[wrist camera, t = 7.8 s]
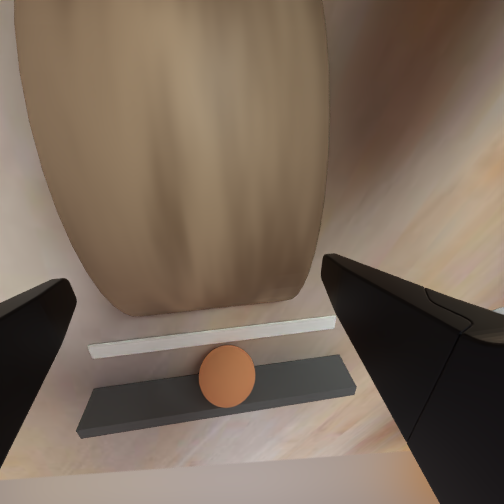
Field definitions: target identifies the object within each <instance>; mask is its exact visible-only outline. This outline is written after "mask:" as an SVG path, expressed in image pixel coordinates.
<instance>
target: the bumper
mask: <svg viewBox="0 0 504 504" xmlns="http://www.w3.org/2000/svg"><path fill="white" fill-rule="evenodd" d="M254 368H255V383H254V386H253V389H252V391H251V393H250V394H249V396H248V397H247V398H246V399H245V400H244V401H243V402H242V403H240V404H238V405H236V406H234V407H229V408H223V407H218V406H216V405H214V404H212V403H211V402H209V401H208V400H207V399H206V397H205V396H204V395H203V393H202V391H201V388H200V384H199V374H197V375H190V376H183V377H176V378H169V379H161V380H154V381H147V382H140V383H133V384H126V385H119V386H111V387H104V388H97V389H94V390H93V392H92V395H91V397H90V399H89V401H88V404H87V406H86V408H85V411H84V413H83V415H82V418H81V420H80V422H79V425H78V427H77V429H76V432H77V433H78V435H79V436H80V438H81V439H82V438H89V437H95V436H101V435H107V434H113V433H120V432H126V431H132V430H138V429H145V428H151V427H157V426H163V425H169V424H176V423H182V422H188V421H194V420H200V419H207V418H213V417H219V416H225V415H232V414H238V413H244V412H250V411H256V410H263V409H269V408H275V407H281V406H288V405H294V404H300V403H306V402H312V401H319V400H325V399H331V398H337V397H344V396H350V395H354V394H355V391H356V387H357V386H356V385H355V383H354V381H353V379H352V377H351V375H350V374H349V372H348V370H347V368H346V366H345V364H344V363H343V361H342V359H341V357H340V355H333V356H326V357H319V358H311V359H304V360H297V361H290V362H283V363H276V364H269V365H261V366H254Z"/></svg>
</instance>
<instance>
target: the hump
mask: <svg viewBox="0 0 504 504" xmlns="http://www.w3.org/2000/svg"><path fill="white" fill-rule="evenodd" d="M14 25H15V34H16V43H17V52H18V61H19V70H20V76H21V81H22V86H23V92H24V97H25V102H26V107H27V112H28V117H29V122H30V126H31V130H32V133H33V137H34V141H35V144H36V148H37V152H38V155H39V159H40V163H41V166H42V170H43V173H44V176H45V178H46V181H47V184H48V187H49V190H50V193H51V195H52V198H53V201H54V204H55V207H56V210H57V212H58V215H59V217H60V219H61V221H62V224H63V226H64V228H65V230H66V233H67V235H68V237H69V240H70V242H71V244H72V246H73V248H74V250H75V252H76V254H77V255H78V257H79V259H80V261H81V263H82V264H83V266H84V268H85V270H86V272H87V273H88V275H89V276H90V278H91V279H92V281H93V282H94V283H95V285H96V286H97V288H98V289H99V290H100V292H101V293H102V294H103V295H104V296H105V297H106V298H107V300H108V301H109V302H110V303H111V304H112V305H113V306H114V307H116V308H117V309H119V310H120V311H122V312H123V313H125V314H128V315H130V316H148V315H157V314H166V313H175V312H184V311H193V310H202V309H211V308H220V307H229V306H238V305H247V304H257V303H266V302H275V301H284V300H290V299H293V298H294V297H295V296H296V295H297V294H298V293H299V291H300V290H301V288H302V287H303V285H304V283H305V280H306V278H307V276H308V273H309V271H310V267H311V264H312V261H313V257H314V254H315V250H316V245H317V240H318V235H319V231H320V225H321V219H322V212H323V205H324V198H325V188H326V177H327V165H328V149H329V121H330V99H329V63H328V49H327V35H326V25H325V18H324V11H323V3H322V0H14Z"/></svg>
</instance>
